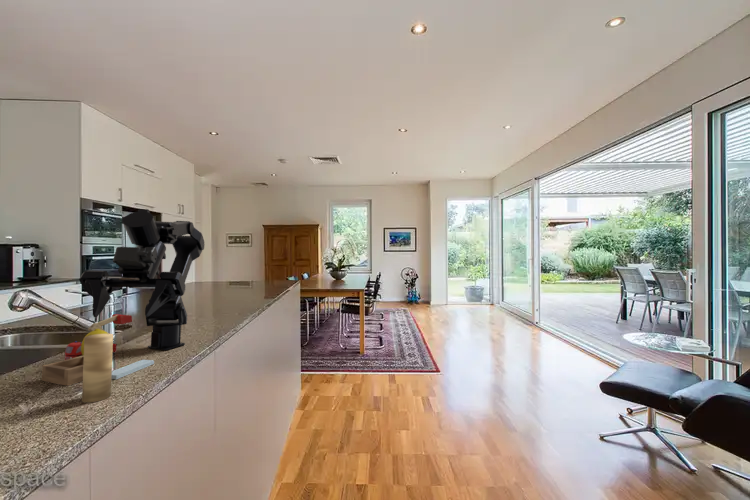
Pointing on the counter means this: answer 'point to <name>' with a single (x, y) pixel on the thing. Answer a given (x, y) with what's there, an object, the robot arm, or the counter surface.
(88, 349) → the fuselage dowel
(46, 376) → the square wooden tray
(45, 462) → the counter surface
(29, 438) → the counter surface
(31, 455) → the counter surface
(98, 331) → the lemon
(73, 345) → the toy fire truck
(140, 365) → the plate
